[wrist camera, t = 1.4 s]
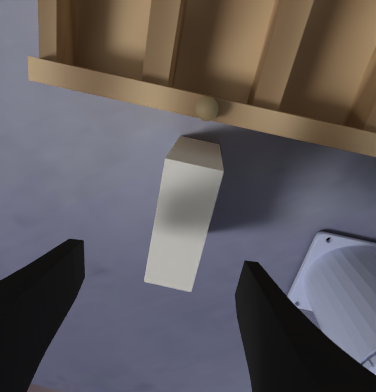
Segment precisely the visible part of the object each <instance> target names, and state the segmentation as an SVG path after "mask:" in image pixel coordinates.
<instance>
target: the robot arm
mask: <svg viewBox="0 0 376 392" xmlns="http://www.w3.org/2000/svg"><path fill="white" fill-rule="evenodd" d="M329 237H330V239H329V240H326V239H327V238H329ZM84 278H85V266H84V240H76V239H68V240H67V241H65V242H63V243H62V244H60V245H59V246H57V247H55V248H54V249H52V250H51V251H49V252H48V253H46V254H45V255H43V256H41V257H40V258H38V259H37V260H35V261H33V262H32V263H30V264H28V265H27V266H25V267H23V268H22V269H20V270H18V271H16V272H15V273H13V274H11V275H9V276H8V277H6V278H4V279H2V280H0V392H27V390H28V388H29V386H30V383H31V381H32V379H33V377H34V375H35V373H36V370H37V368H38V366H39V364H40V362H41V360H42V358H43V356H44V354H45V352H46V350H47V348H48V346H49V345H50V343H51V341H52V339H53V338H54V336H55V334H56V332H57V331H58V329H59V327H60V325H61V324H62V322H63V320H64V318H65V317H66V315H67V313H68V311H69V310H70V308H71V306H72V304H73V303H74V301H75V299H76V297H77V295H78V292H79V290H80V288H81V285H82V283H83V280H84ZM235 300H236V311H237V319H238V323H239V328H240V333H241V337H242V342H243V346H244V351H245V355H246V360H247V364H248V369H249V374H250V380H251V386H252V392H376V243H374V242H369V241H365V240H360V239H356V238H351V237H347V236H342V235H337V234H333V233H328V232H323V231H321V232H318V233H317V234H316V236H315V238H314V240H313V242H312V244H311V246H310V248H309V250H308V253H307V255H306V257H305V259H304V261H303V263H302V265H301V268H300V270H299V272H298V274H297V276H296V278H295V280H294V283H293V285H292V287H291V289H290V291H289V293H288V295H287V296H286V295H285V294H284V292H283V291H282V290H281V289H280V288H279V287H278V285H277V284H276V283H275V282H274V281H273V279H272V278H271V277H270V276H269V275H268V273H267V272H266V271H265V270H264V269H263V267H262V266H261V265H260V264H259V263H258V262H253V261H244V265H243V268H242V272H241V275H240V279H239V282H238V286H237V289H236V293H235ZM295 302H297V303H295ZM298 308H301V309H305V310H310V311H313V312H314V315H315V317H316V319H317V321H318V323H319V325H320V327H321V330H322V331H321V330H320V329H318V328H317V327H316V326H315V325H314V324H313V323H312V322H311V321H310V320H309V319H308V318H307V317H306V316H305V315H304V314H303V313H302V312H301V311H300V310H299V309H298Z"/></svg>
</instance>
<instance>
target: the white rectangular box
mask: <svg viewBox="0 0 376 392" xmlns="http://www.w3.org/2000/svg"><path fill="white" fill-rule="evenodd" d="M223 173H224V169H223V163H222V157H221V151H220V145H219V144H215V143H211V142H206V141H202V140H197V139H193V138H188V137H184V136H180V137H179V139H178V140H177V142H176V143H175V145H174V146H173V148H172V149H171V151H170V152H169V154H168V155H167V157H166V158H165V163H164V169H163V175H162V180H161V186H160V192H159V198H158V203H157V209H156V215H155V221H154V227H153V232H152V238H151V244H150V250H149V255H148V261H147V267H146V273H145V279H144V282H148V283H152V284H157V285H161V286H166V287H170V288H175V289H179V290H184V291H188V292H191V291H192V287H193V283H194V280H195V276H196V272H197V269H198V265H199V261H200V258H201V254H202V250H203V247H204V243H205V239H206V235H207V232H208V228H209V224H210V221H211V217H212V213H213V210H214V206H215V202H216V199H217V195H218V191H219V188H220V184H221V180H222V177H223Z"/></svg>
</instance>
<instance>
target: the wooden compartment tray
mask: <svg viewBox="0 0 376 392" xmlns="http://www.w3.org/2000/svg"><path fill="white" fill-rule="evenodd" d="M38 21H39V58H35V57H29V56H28V73H29V80H30V81H35V82H39V83H44V84H48V85H53V86H57V87H62V88H66V89H71V90H75V91H80V92H84V93H89V94H93V95H98V96H102V97H107V98H111V99H116V100H120V101H125V102H129V103H134V104H138V105H143V106H147V107H152V108H156V109H161V110H165V111H170V112H174V113H179V114H183V115H188V116H192V117H197V118H200V119H201V120H203V121H215V122H219V123H224V124H228V125H233V126H237V127H242V128H246V129H251V130H255V131H260V132H264V133H269V134H273V135H278V136H282V137H287V138H291V139H296V140H300V141H305V142H309V143H314V144H318V145H323V146H328V147H332V148H337V149H341V150H346V151H350V152H355V153H359V154H364V155H368V156H373V157H376V0H38Z"/></svg>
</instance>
